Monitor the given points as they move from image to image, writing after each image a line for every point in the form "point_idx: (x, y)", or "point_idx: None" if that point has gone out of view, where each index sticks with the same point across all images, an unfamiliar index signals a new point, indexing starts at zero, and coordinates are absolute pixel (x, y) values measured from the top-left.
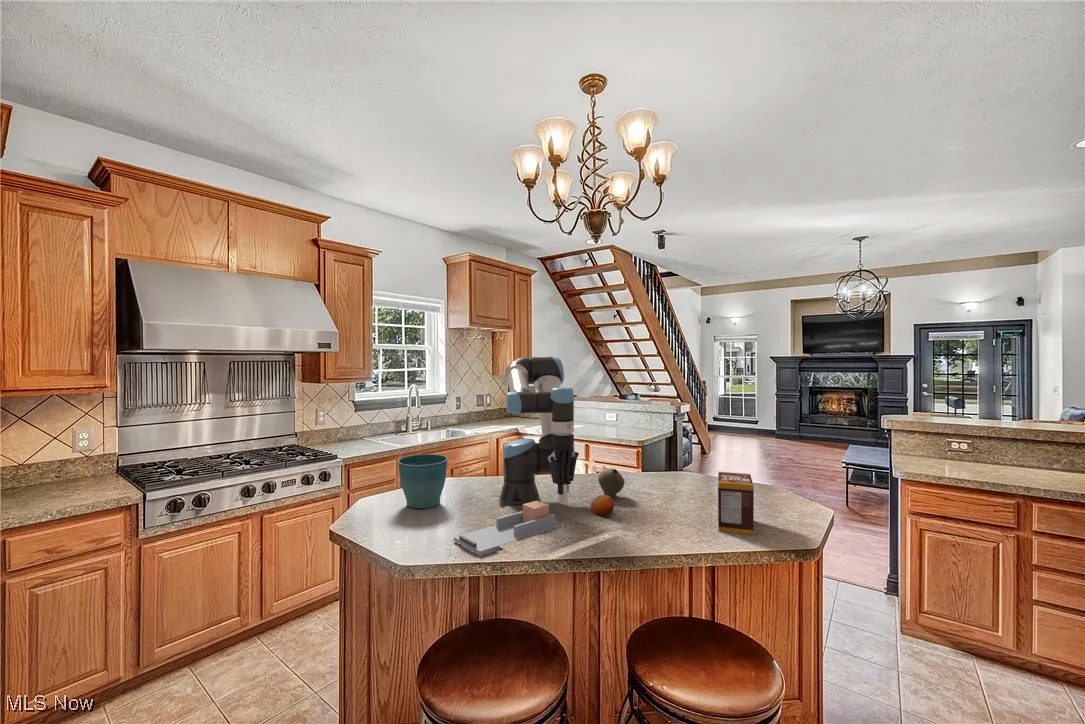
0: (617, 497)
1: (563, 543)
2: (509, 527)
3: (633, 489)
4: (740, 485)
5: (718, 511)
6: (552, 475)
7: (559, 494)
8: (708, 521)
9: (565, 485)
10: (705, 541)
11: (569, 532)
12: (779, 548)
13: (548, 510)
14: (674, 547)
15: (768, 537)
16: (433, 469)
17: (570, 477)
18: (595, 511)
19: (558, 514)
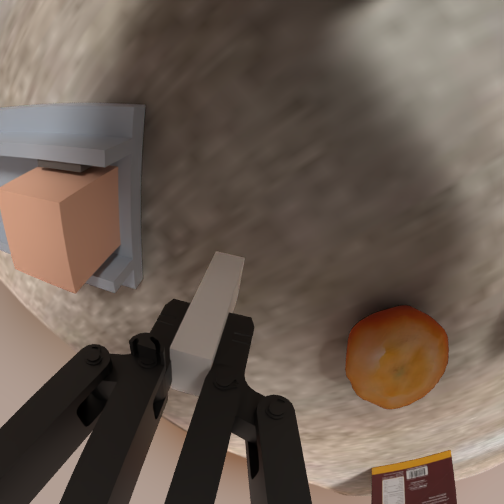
0: None
1: (98, 323)
2: (12, 161)
3: None
4: None
5: (383, 493)
6: (42, 400)
7: (198, 291)
8: (419, 453)
9: (185, 389)
10: (315, 468)
11: (158, 308)
12: (337, 490)
13: (87, 276)
14: None
15: (371, 484)
16: None
17: (247, 447)
18: (348, 341)
19: (297, 165)
